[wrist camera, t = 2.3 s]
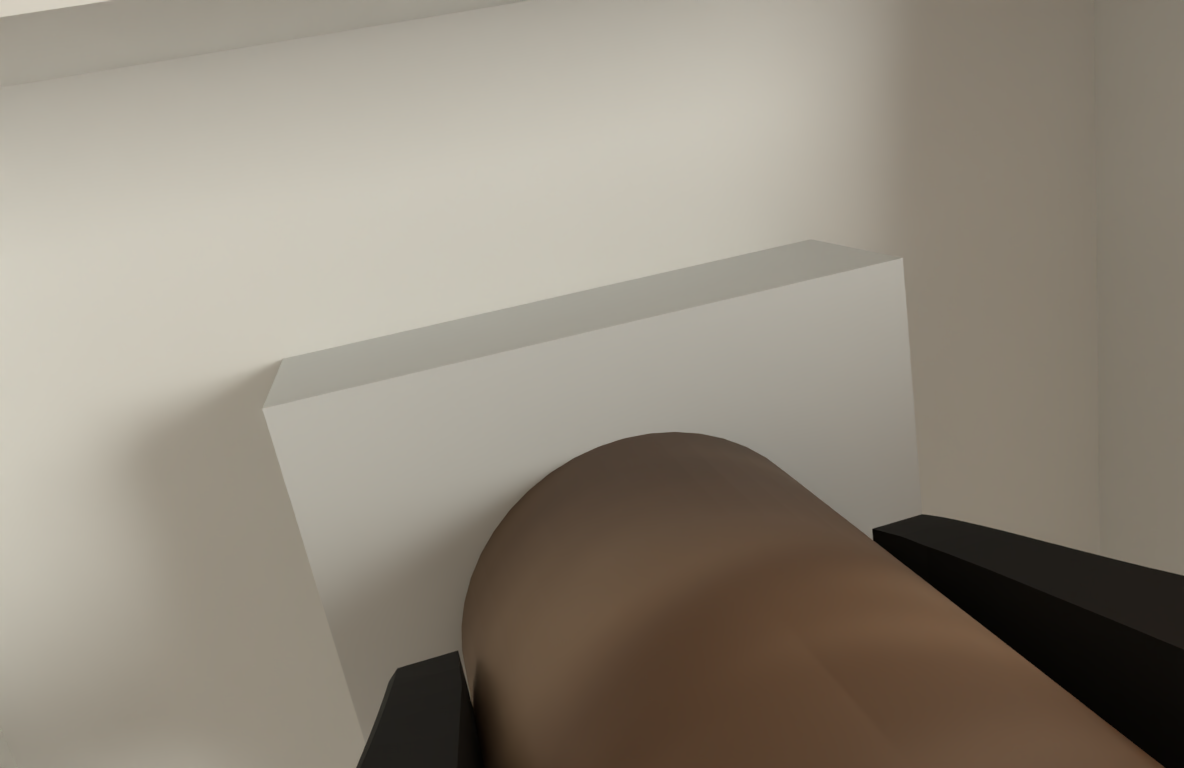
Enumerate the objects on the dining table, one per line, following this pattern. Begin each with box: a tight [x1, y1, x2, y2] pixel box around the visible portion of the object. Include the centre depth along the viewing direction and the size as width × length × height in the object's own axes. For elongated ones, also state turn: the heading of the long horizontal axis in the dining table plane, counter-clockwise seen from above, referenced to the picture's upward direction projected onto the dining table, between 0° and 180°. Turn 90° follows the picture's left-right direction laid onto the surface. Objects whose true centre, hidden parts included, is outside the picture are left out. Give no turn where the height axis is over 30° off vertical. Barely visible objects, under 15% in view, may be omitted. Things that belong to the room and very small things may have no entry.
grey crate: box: [0, 0, 1184, 768], centre depth 11 cm, size 18×16×4 cm
